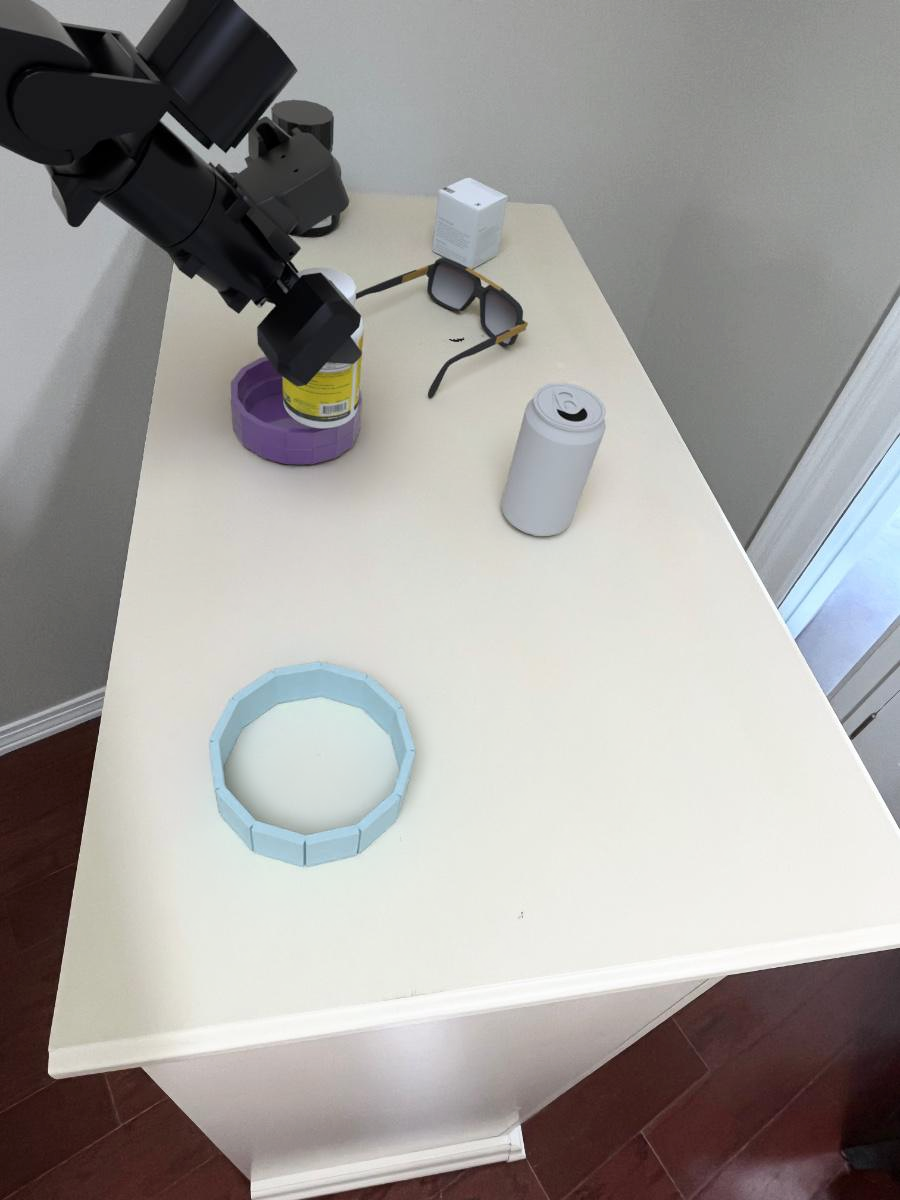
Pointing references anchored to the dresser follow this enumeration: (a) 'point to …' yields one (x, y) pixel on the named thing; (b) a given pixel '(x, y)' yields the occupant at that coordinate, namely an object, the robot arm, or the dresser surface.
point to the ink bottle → (321, 127)
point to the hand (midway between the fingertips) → (338, 334)
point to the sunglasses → (465, 304)
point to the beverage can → (553, 458)
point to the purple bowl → (281, 421)
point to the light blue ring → (300, 686)
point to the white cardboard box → (469, 222)
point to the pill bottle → (328, 376)
